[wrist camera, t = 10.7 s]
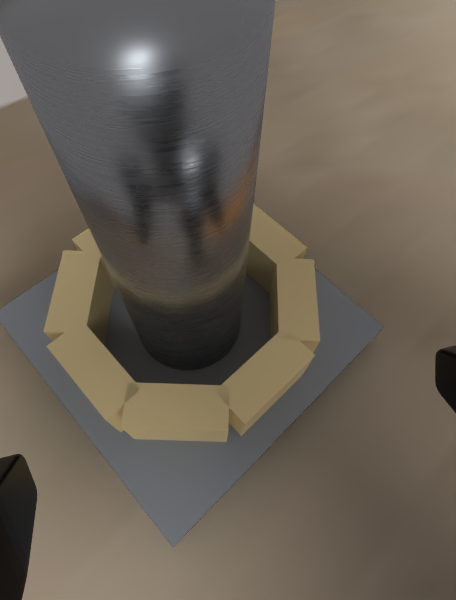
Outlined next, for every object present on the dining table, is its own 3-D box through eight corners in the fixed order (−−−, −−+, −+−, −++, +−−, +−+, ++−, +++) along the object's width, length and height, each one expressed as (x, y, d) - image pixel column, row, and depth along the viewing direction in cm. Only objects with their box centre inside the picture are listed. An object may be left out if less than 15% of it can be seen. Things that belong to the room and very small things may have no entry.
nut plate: (376, 335, 19) (407, 301, 16) (175, 545, 15) (164, 554, 12) (201, 186, 23) (198, 134, 20) (3, 322, 19) (-39, 285, 16)
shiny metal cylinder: (261, 323, 18) (336, -19, 6) (184, 392, 17) (101, 113, 5) (193, 260, 19) (154, -114, 8) (117, 319, 18) (-69, -31, 6)
